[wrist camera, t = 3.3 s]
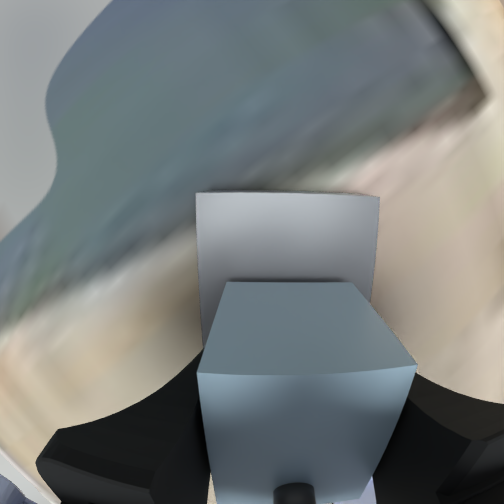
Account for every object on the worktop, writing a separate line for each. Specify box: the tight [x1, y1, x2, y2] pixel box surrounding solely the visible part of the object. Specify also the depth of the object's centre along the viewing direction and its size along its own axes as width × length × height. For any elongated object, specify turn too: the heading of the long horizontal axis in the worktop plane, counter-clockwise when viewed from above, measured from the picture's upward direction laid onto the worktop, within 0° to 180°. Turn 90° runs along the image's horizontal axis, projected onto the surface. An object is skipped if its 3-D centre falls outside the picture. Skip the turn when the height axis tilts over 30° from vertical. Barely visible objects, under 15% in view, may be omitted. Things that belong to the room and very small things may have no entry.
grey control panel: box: [196, 190, 380, 349], centre depth 14 cm, size 7×18×3 cm, turn 0°
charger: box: [197, 282, 418, 504], centre depth 9 cm, size 5×6×8 cm
